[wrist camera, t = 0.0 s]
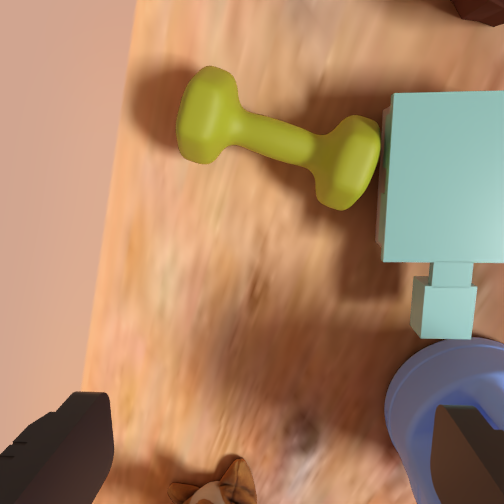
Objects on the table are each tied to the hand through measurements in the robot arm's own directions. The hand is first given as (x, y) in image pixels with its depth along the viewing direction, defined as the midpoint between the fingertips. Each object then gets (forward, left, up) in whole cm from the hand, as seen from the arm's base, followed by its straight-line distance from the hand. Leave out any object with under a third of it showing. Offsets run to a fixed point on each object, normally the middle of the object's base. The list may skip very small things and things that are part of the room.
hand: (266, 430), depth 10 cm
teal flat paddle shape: (-2, +14, -25) cm, 29 cm away
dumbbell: (-8, 0, -30) cm, 31 cm away
